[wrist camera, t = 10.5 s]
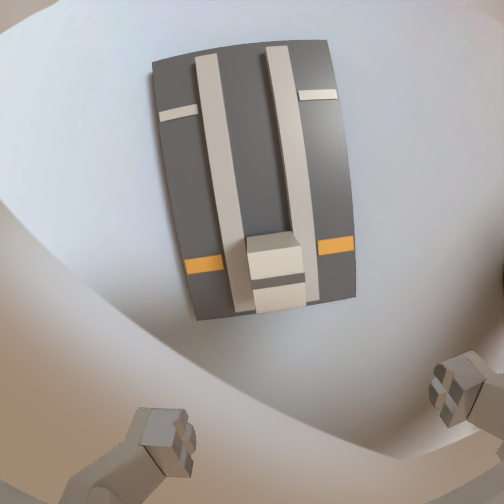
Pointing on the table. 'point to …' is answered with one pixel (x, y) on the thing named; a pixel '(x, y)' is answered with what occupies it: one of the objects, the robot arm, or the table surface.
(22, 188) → the table surface
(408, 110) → the table surface
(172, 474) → the robot arm
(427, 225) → the table surface
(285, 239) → the fader knob
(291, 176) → the slider console
